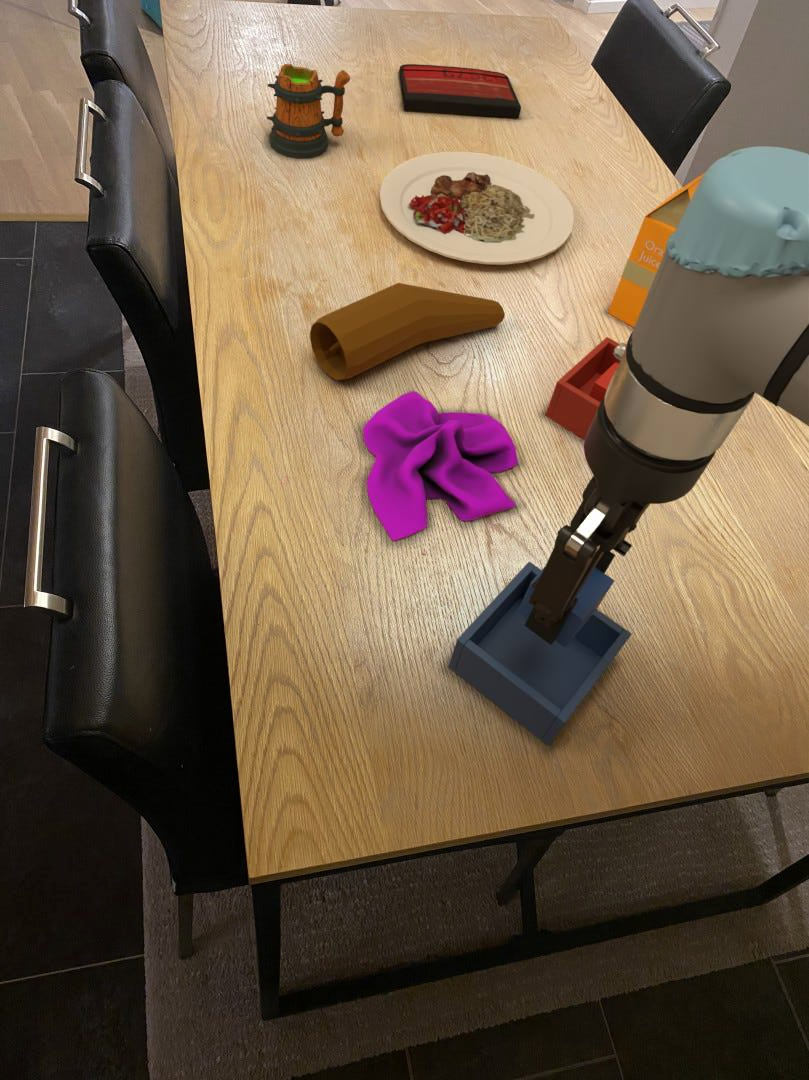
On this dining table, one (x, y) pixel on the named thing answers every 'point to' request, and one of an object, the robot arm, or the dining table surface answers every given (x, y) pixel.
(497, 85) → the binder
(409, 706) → the dining table surface
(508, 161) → the plated food
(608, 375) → the red block
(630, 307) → the orange juice
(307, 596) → the dining table surface
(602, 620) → the blue bin
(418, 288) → the horn
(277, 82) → the mug
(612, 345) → the red bin
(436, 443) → the cloth
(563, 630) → the blue block
